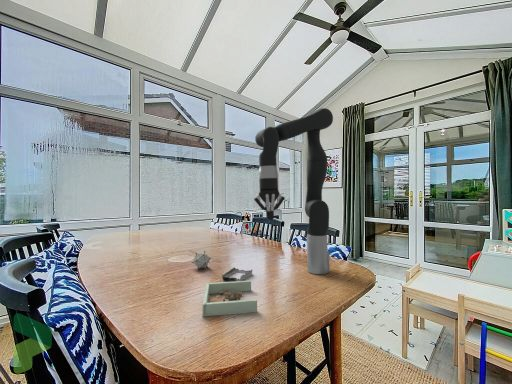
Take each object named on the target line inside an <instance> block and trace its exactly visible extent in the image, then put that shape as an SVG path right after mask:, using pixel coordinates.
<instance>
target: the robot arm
mask: <svg viewBox="0 0 512 384" xmlns="http://www.w3.org/2000/svg"><path fill="white" fill-rule="evenodd" d="M333 121H334V115H333V113H332V111H331V110H330V109H329V108H325V107H324V108H319V109H317V110H314V111H312V112H310V113H309V114H307V116H305V117H301V118H296V119H293V120H289V121H286V122H282V123H279V124H277V125H276V126H268V127H265V128H264V129H261V130H260V131H258V132H257V133H256V135H255V140H254V141H255V143H256V145H257V146H259V147H260V148H262V151H261V152H260V153H259V155H258V163H259V164H258V165H259V169H258V176H259V180H258V181H259V191H258V195H257V196H256V197H254V198H253V200H254V202H255V203H256V205H258V207H259V208H260V209H261V210H263V211H265V214H266V219H267V221H273V220H274V219H275V213H274V212H275V211H276V210H279V208H280V207H281V205H282V204H283V202H284V201H285V199H286V197H285V196H282V195H281V193H280V191H279V180H278V179H279V178H278V177H279V174H278V167H277V153H278V149H279V142H283V141H287V140H289V139H292V138H295V137H297V136H299V135H303V134H304V133H306V139H307V140H306V141H307V144H306V145H307V149H306V150H307V157H306V197H305V204H304V211H305V214H306V216H307V217H308V227H307V228H306V248H307V249H306V254H307V255H306V258H307V259H306V260H307V261H306V262H307V263H306V267H307V272H308V273H309V274H313V275H326V274H327V273H330V271H331V270H330V265H331V264H330V251H328V230H329V227H330V210H329V209H330V208H329V205H328V204H327V203H326V201H324V200H323V194H322V193H323V186H324V184H325V181H326V177H327V171H328V157H327V156H328V155H327V153H326V151H325V150H324V148H323V146H322V144H321V139H320V137H321V131H323V130H326V129H328V128H329V127H330V126H331V125H332V124H333ZM261 201H262V202H264V204H263V203H262V202H261ZM276 201H277V202H276ZM275 202H276V203H275Z"/></svg>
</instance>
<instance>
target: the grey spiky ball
mask: <svg viewBox="0 0 512 384" xmlns="http://www.w3.org/2000/svg"><path fill="white" fill-rule="evenodd" d="M194 254H195V256H194V259H193V261H192V262H191V264H194V265H195V266H196V268H197V271H199V270H200V269H203V268H207V269H208V268H209V266H208V265H209V263H210V260H211V259H212V257H209V256H208V254H207V253H206V250H204V251H203V252H201V253H200V252H199V253H197V252H195V253H194Z"/></svg>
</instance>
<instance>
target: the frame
mask: <svg viewBox="0 0 512 384" xmlns="http://www.w3.org/2000/svg"><path fill="white" fill-rule="evenodd" d="M223 290H231V291H232V292H251V291H252V280H242V281H234V282H226V281H222V282H207V283H206V284H205V291H204V295H203V300H202V317H211V316H212V317H213V316H223V315H236V314H237V315H239V314H249V313H258V299H257V298H255V299H254V298H253V299H243V300H242V299H241V300H239V301H238V300H234V301H229V300H227V301H226V300H225V302H223V301H216V302H215V301H214V302H209V297H210V294H219V292H221V291H223Z"/></svg>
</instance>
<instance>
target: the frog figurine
mask: <svg viewBox="0 0 512 384" xmlns="http://www.w3.org/2000/svg"><path fill="white" fill-rule="evenodd" d="M243 295H244V291H240V292H232V291H231V290H223V291H221V292H219V293H217V295H216V296H215V298H219V297H221V296H224V297H223V298H222V302H225V301H226V300H227V301H236V300H237V301H239V300H242V299H241V298H242V297H244V296H243ZM214 302H217V301H216V300H214Z"/></svg>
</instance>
